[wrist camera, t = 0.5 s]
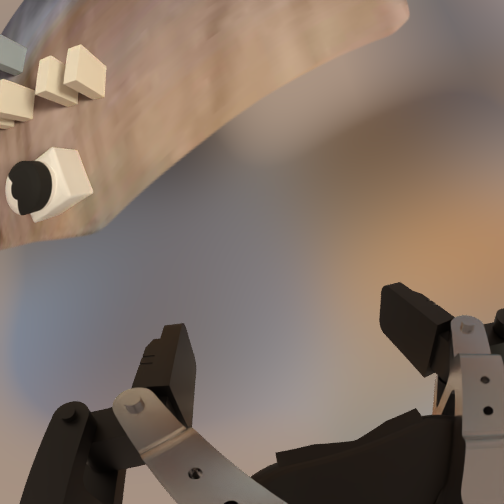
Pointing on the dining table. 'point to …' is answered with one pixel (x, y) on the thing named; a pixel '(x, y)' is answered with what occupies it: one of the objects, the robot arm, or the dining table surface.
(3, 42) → the domino
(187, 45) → the dining table surface
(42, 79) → the domino
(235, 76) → the dining table surface
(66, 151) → the medicine bottle
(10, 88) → the domino
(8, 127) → the domino
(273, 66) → the dining table surface
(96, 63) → the domino
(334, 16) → the dining table surface
